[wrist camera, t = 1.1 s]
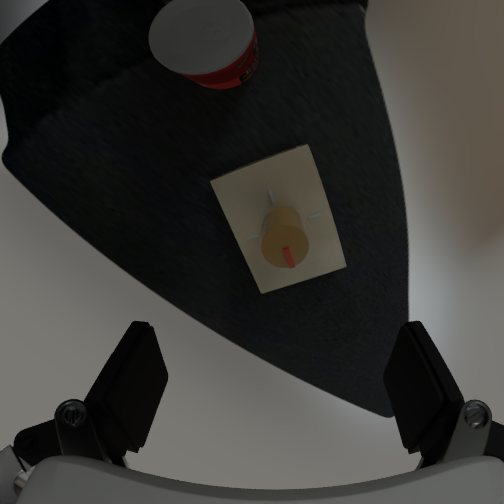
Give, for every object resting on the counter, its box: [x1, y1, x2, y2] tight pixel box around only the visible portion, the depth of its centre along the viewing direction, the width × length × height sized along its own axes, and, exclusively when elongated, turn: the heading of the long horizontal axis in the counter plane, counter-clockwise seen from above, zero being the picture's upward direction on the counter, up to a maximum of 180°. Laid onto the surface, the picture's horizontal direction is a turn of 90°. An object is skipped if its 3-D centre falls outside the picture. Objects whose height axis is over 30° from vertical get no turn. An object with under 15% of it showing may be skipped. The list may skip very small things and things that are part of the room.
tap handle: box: [261, 207, 309, 269], centre depth 28 cm, size 4×4×6 cm
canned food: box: [149, 0, 259, 89], centre depth 20 cm, size 8×8×11 cm
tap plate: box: [210, 143, 346, 294], centre depth 32 cm, size 15×11×2 cm
